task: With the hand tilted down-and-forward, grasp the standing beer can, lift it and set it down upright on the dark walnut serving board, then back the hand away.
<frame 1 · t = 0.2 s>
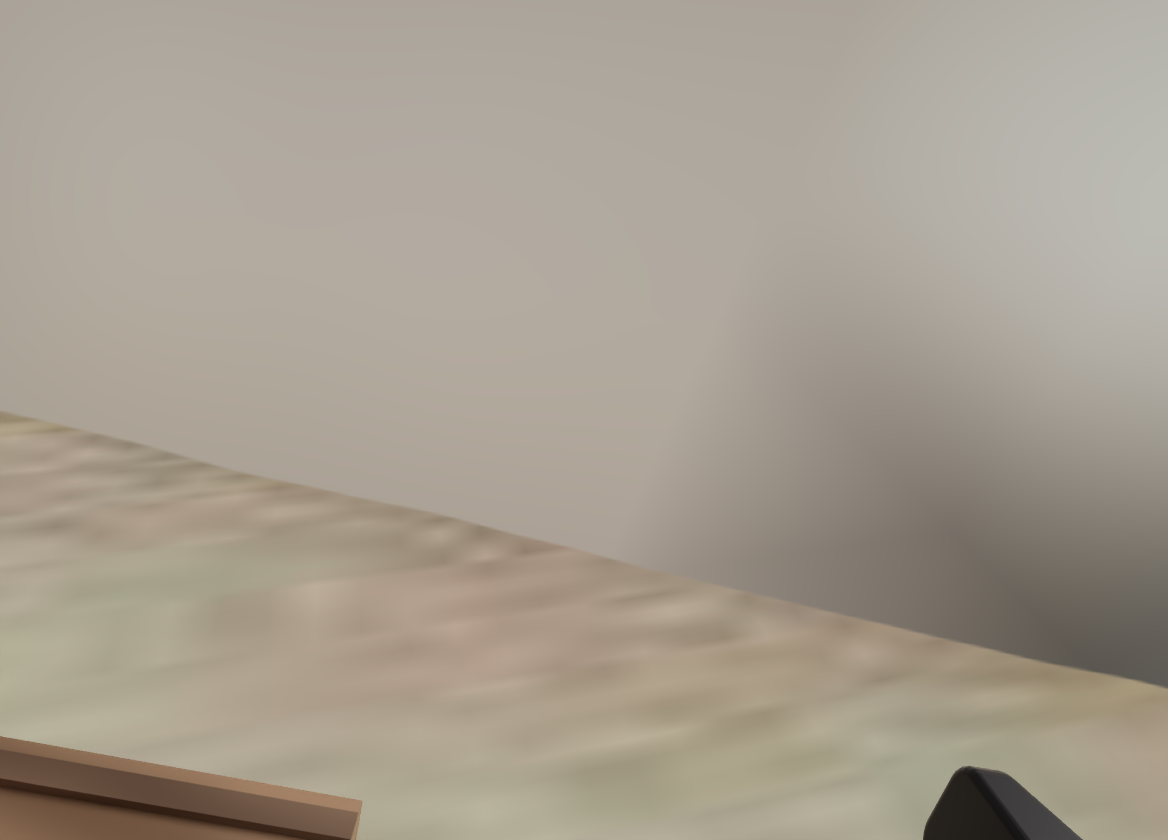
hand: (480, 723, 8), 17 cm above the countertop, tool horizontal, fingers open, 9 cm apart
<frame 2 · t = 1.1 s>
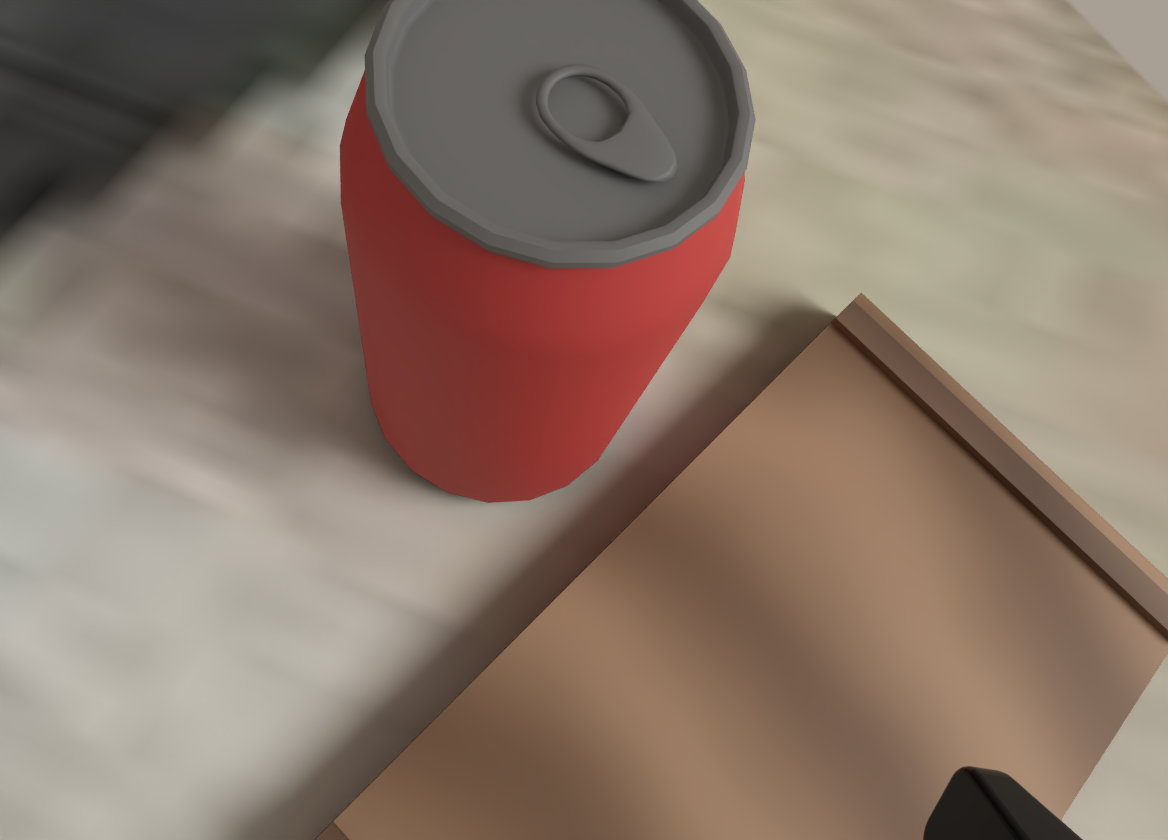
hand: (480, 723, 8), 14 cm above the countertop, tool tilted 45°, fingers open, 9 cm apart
walnut board: (775, 723, 22), on the countertop
beer can: (497, 390, 24), on the countertop
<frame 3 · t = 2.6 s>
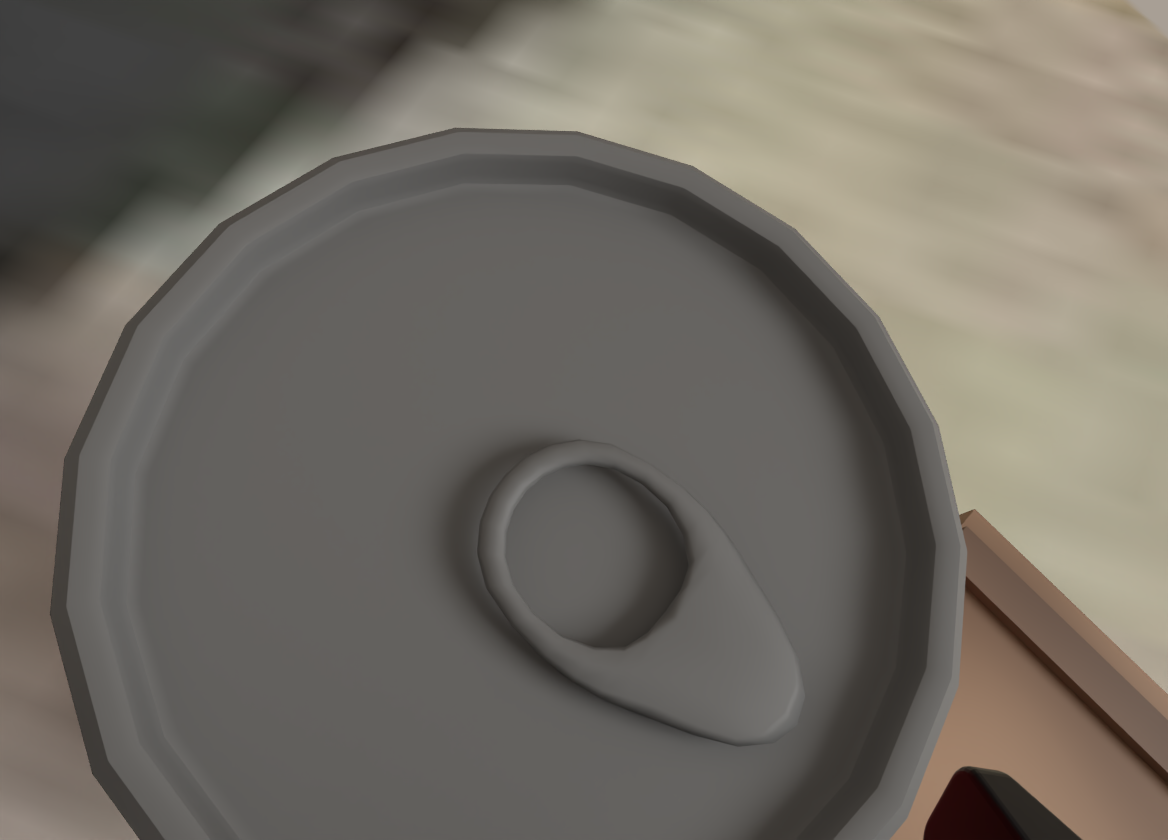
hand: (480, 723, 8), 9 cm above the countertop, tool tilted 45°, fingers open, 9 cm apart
beer can: (461, 656, 17), on the countertop
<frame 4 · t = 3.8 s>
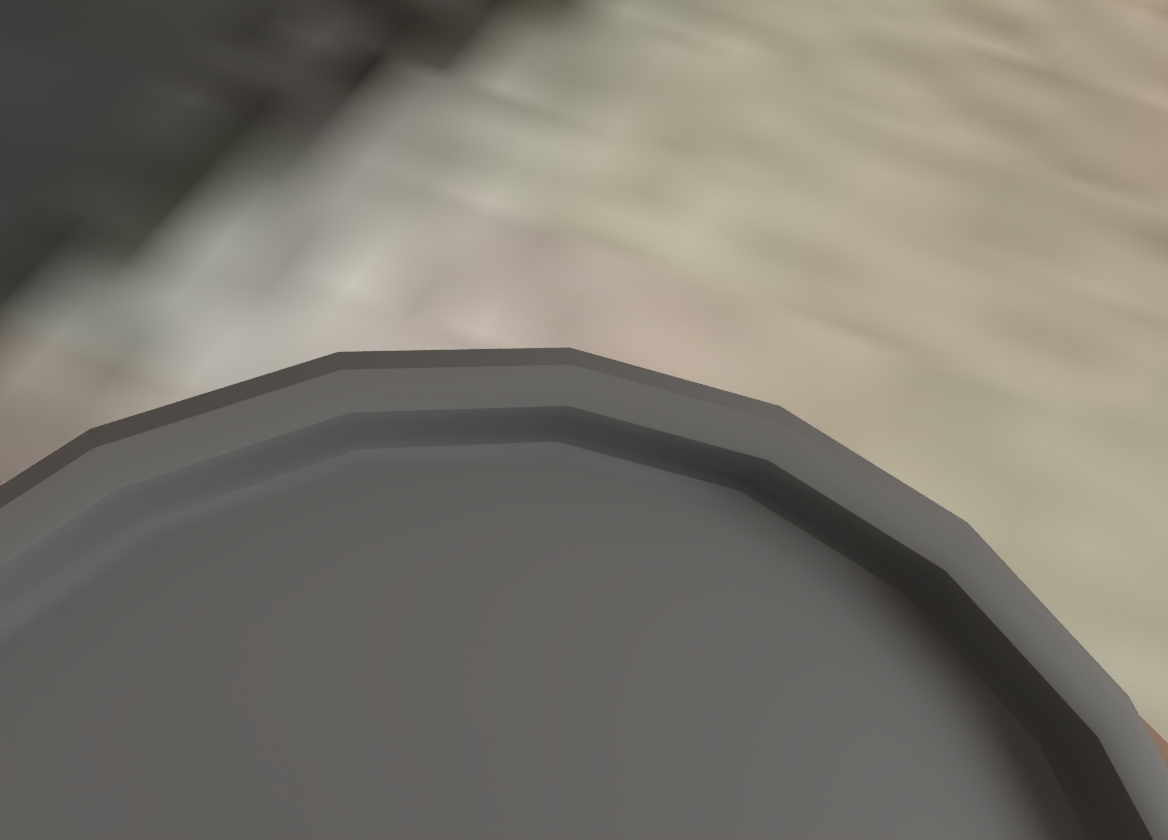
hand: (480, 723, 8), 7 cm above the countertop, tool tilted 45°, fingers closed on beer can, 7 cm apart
beer can: (435, 815, 14), on the countertop, touching gripper
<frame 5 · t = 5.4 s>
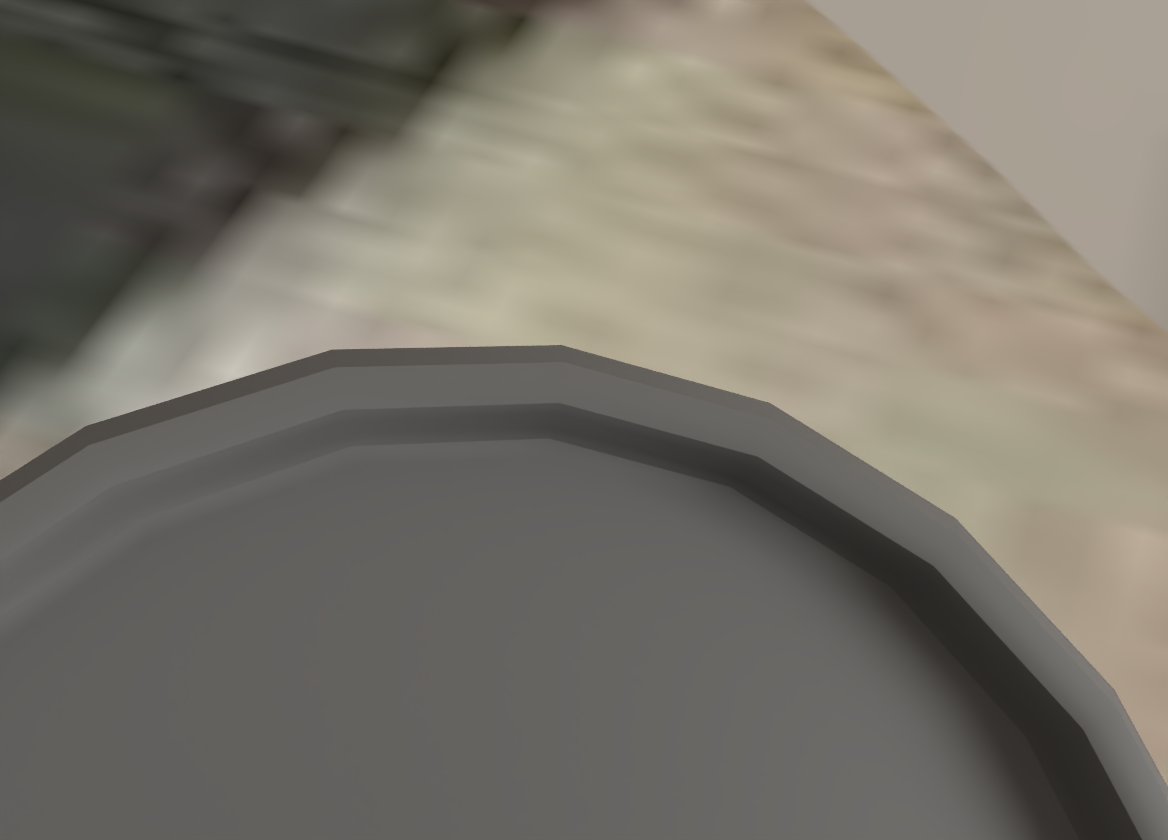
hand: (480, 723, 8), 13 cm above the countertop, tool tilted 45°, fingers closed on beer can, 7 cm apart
beer can: (433, 811, 14), point 6 cm above the countertop, touching gripper
when the fingers open (9 cm above the countertop, at t = 7.1 s): beer can stays where it is, resting on walnut board.
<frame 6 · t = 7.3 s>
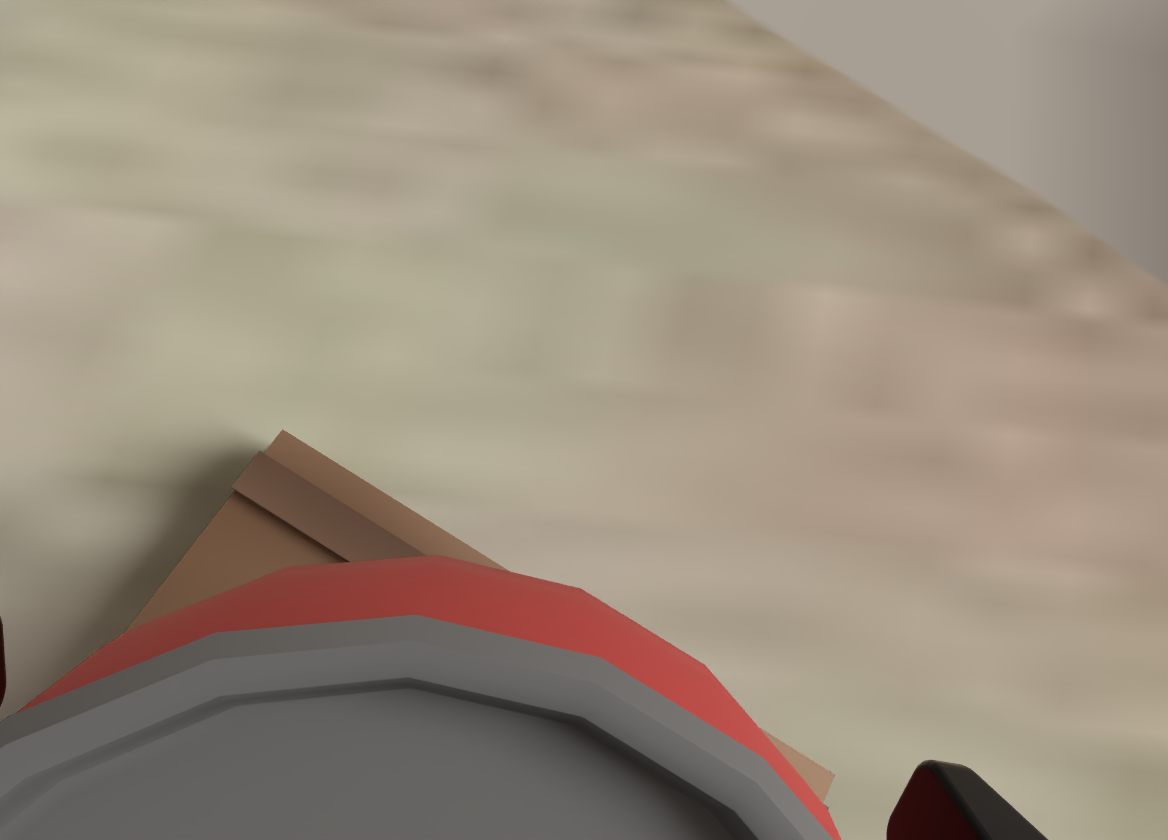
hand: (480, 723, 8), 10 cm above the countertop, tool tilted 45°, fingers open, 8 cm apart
beer can: (432, 817, 15), point 2 cm above the countertop, touching walnut board
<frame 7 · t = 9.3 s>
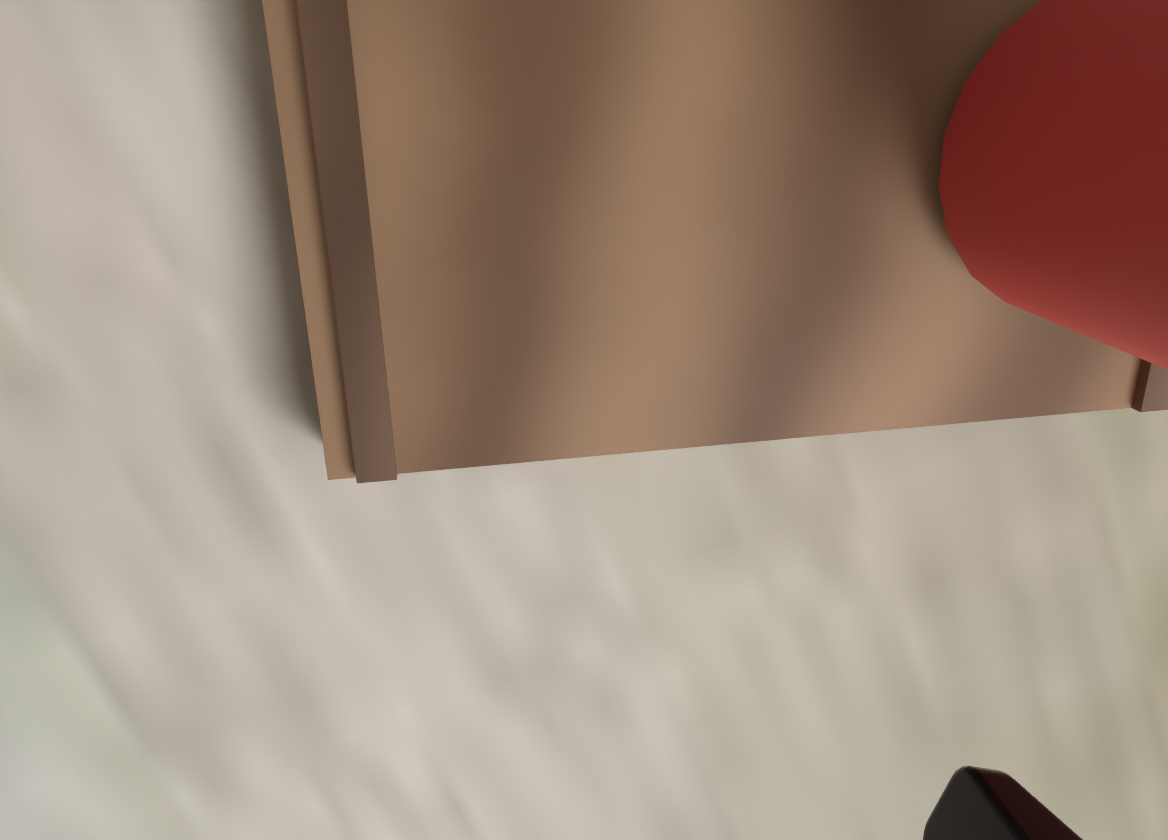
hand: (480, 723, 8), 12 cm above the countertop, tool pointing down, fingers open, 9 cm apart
walnut board: (779, 153, 19), on the countertop
beer can: (1069, 151, 19), point 1 cm above the countertop, touching walnut board
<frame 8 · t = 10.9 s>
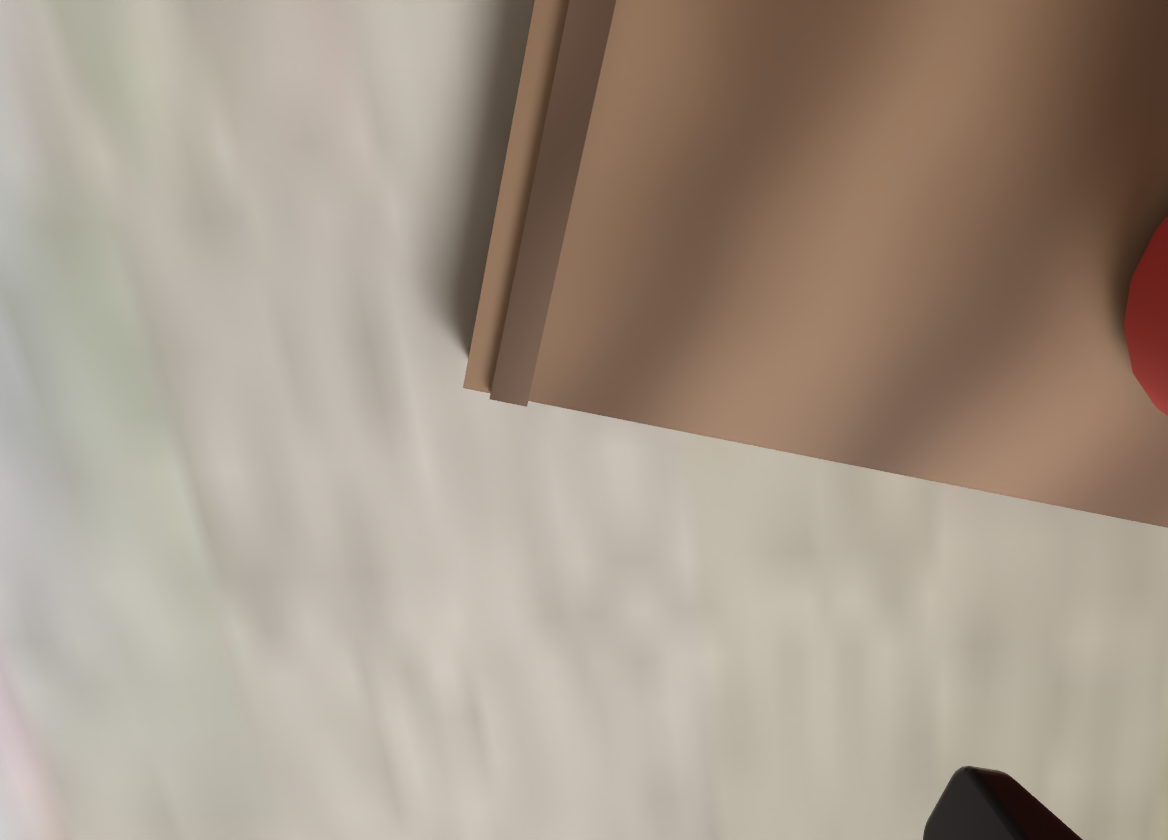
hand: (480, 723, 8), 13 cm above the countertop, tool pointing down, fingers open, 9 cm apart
walnut board: (980, 200, 19), on the countertop
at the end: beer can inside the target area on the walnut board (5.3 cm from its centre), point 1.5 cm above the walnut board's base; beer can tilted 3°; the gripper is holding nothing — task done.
